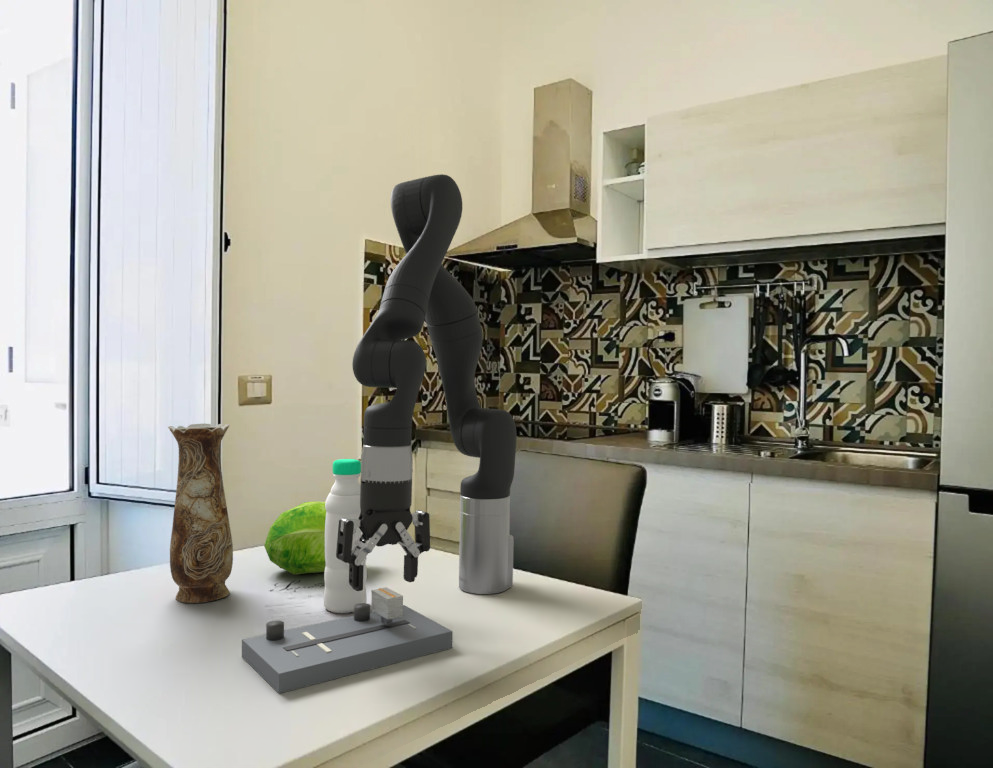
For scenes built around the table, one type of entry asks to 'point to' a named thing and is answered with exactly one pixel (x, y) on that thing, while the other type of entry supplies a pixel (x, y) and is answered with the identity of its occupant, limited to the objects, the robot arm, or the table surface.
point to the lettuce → (299, 539)
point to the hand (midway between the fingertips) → (383, 585)
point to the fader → (387, 604)
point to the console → (341, 647)
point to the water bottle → (337, 505)
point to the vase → (200, 517)
